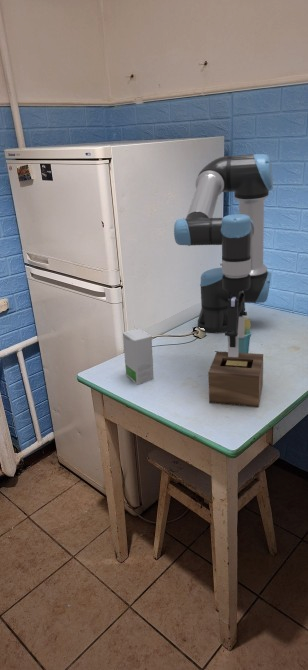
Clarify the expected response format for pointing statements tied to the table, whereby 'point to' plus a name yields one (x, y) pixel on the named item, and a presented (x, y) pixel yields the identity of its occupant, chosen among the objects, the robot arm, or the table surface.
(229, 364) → the block
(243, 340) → the cup
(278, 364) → the table surface
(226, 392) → the coin box
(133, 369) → the skincare box
